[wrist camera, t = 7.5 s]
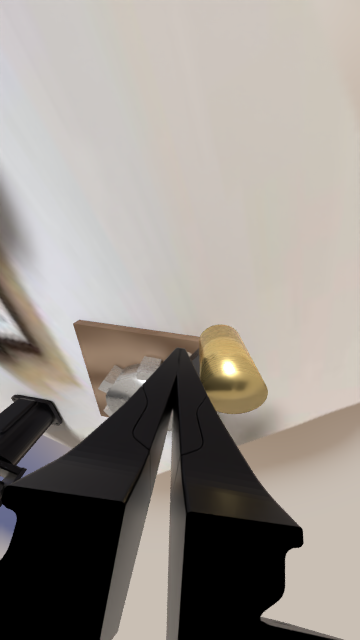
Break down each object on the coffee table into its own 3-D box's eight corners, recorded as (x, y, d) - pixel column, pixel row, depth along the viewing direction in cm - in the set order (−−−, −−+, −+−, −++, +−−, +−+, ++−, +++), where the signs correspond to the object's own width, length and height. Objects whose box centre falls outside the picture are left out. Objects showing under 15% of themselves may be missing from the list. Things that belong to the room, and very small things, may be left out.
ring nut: (165, 426, 19) (154, 489, 14) (97, 390, 17) (54, 449, 12) (274, 353, 12) (334, 431, 7) (175, 277, 10) (152, 302, 5)
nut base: (206, 428, 20) (206, 435, 19) (104, 410, 21) (100, 416, 20) (236, 342, 13) (239, 348, 12) (79, 320, 14) (72, 324, 13)
